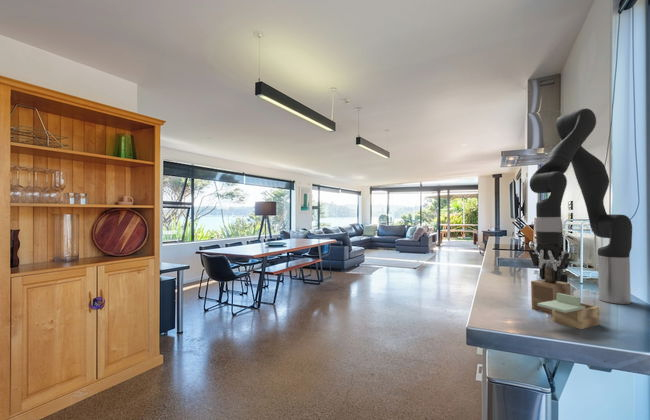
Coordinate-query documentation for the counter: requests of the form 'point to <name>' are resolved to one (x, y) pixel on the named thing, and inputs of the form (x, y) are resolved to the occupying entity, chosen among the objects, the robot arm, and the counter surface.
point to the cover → (547, 290)
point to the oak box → (578, 317)
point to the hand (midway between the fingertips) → (550, 280)
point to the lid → (563, 303)
